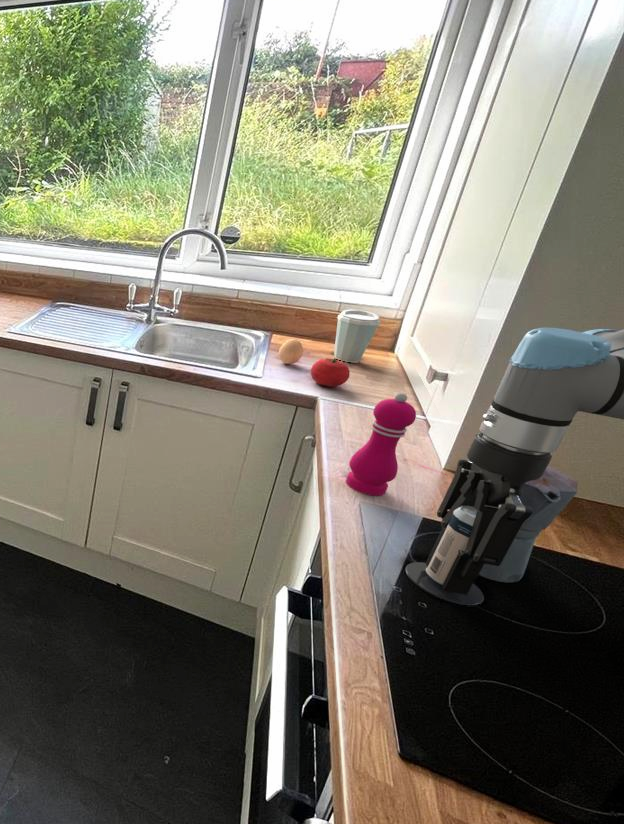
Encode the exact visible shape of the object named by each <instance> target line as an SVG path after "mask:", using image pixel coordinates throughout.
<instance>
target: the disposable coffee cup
mask: <svg viewBox="0 0 624 824" xmlns="http://www.w3.org/2000/svg"><path fill="white" fill-rule="evenodd" d="M336 319H337V325H336V331H335V332H336V333H335V340H334V341H335V342H334V350H333V358H334V357H335V358H336V359H338V360H341V362H343V361H345V362H344V363H347V362H351V363H350V364H358V363H359V362H360V360H362V357H363V356H364V354H365V352H366V350H367V348H368V346H369V345H370V342H371V340H372V338H373V337H374V334H375V333H376V331H377V329H378V327H379V326H380V324H381V321H382V320H381V319H380V316H379V315H378V314H376V313H373V312H371V311H366V310H361V309H360V310H359V309H344V310H342V311H341V312H340V314H338V315H337V317H336Z"/></svg>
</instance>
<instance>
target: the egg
mask: <svg viewBox="0 0 624 824" xmlns="http://www.w3.org/2000/svg"><path fill="white" fill-rule="evenodd" d="M303 354H304V347H303V344H302V342H301V341H300V340H298V339H296V338H290V339H288V340H285V342H283V344H281V346H280V348H279V349H278V358H279V360H280V361H281V362H282V363H283V364H285V365H295V364H297V363H298V362H299V361H300V360H301V359H302V357H303Z"/></svg>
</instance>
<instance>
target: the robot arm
mask: <svg viewBox="0 0 624 824" xmlns="http://www.w3.org/2000/svg"><path fill="white" fill-rule="evenodd" d="M578 412H582V413H586V414H590V415H591V414H592V415H598V416H603V417H609V418H614V419H620V420H624V328H623V329H621V330H617V329H609V328H598V329H595V328H594V329H590V330H585V331H583V332H582V331H575V330H573V329H566V328H559V327H558V328H556V327H539V328H538V327H537V328H534V329H531V330H529V331H528V332H526V334H525V335H524V336H523V338H522V339H521V341H520V342H519V344H518V346H517V347H516V349H515V351H514V353H513V355H512V356H511V357H510V358H509V363H508V366H507V368H506V370H505V373H504V375H503V376H502V378H501V381H500V384H499V385H498V388H497V391H496V393H495V394H494V397H493V398H492V401H491V403H490V406H489V407H488V410H487V412H486V413H485V414H483V415H482V417H481V418H482V421H481V424H480V427H479V433H477V434H475V436H474V438H473V440H472V442H471V444H470V446H469V448H468V450H467V452H466V458H467V459H462V458H460V459H458V461H457V465H456V469H455V473H454V475H453V478H452V480H451V482H450V483H449V486H448V488H447V491H446V492H445V494H444V497H443V499H442V501H441V503H440V505H439V507H438V509H437V512H436V516H437V517H438V518H441V521H440V526H441V530H440V531H439V534H438V535H437V538H436V540H435V542H434V545H433V547H432V549H431V551H430V553H429V555H428V557H427V559H426V561H425V563H426V565H427V566H428V565H429V563H430V561H431V559H432V557H433V555H434V553H435V551H436V549H437V547H438V545H439V543H440V540H441V538H442V536H443V534H444V532H445V530H446V528H447V526H448V524H449V522H450V520H451V518H452V516H453V512H454V510H456V509H458V508H459V507H461V506H473V507H474V508H475V509H476V510H477V513H476V517H475V520H474V523H473V527H472V530H471V533H470V537H469V540H468V543H467V546H466V550H465V551H461V550H458V555H457V557H456V559H455V561H454V563H453V565H452V567H451V569H450V571H449V573H448V575H447V577H446V579H445V581H444V583H443V585H442V588H443V589H444V590H447V591H451V592H455V593H460V594H464V595H467V594H468V592H469V590H470V588H471V586H472V584H475V583H474V582H475V581H476V580H477V578H478V577H479V575H478V574H479V572H480V571H481V569H482V567H483V565H484V564H490V565H494V566H500V564H501V563H502V561H503V559H504V557H505V555H506V553H507V551H508V550H509V548H510V546H511V544H512V542H513V540H514V539H515V537H516V535H517V533H518V531H519V529H520V528H521V526H522V524H523V522H524V521H526V520H527V519H528V518H529V517H530V516H531V515H532V513H533V509H532V508H531V507H528V506H523V505H522V503H521V501H520V499H519V498H520V497H521V496H522V492H523V486H524V484H525V483H526V482H528V481H532V480H537V479H539V478H541V477H542V475H543V473H544V471H545V469H546V468H547V466H549V464H550V462H551V460H552V458H553V456H552V454H551V453H554V452H556V451H557V450H558V449H559V446H560V444H561V443H562V440H563V439H564V436H565V434H566V433H567V431H568V429H569V427H570V425H571V424H572V422H573V421H574V418H575V416H576V414H577V413H578ZM485 505H487V506H485ZM488 506H492V507H488ZM494 507H498V508H494Z"/></svg>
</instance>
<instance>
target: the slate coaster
mask: <svg viewBox="0 0 624 824" xmlns="http://www.w3.org/2000/svg"><path fill="white" fill-rule="evenodd" d="M427 567H428V566H427V565H426V562H422V561H421V562H419V561H417V562H416V561H415V562H410V563H409V564H406V567H405V568H404V573H405V575H406V577H407V578H408V580H409V581H410V582H411V583H412V584H413V585H415V586H416V587H417V588H418V589H420V590H421V591H423V590H424V591H423V592H424V593H426V592H427V593H426V594H428V593H429V594H428V595H430V594H431V595H430V596H432V595H433V596H432V597H434V596H435V597H434V598H436V597H437V598H436V599H438V598H440V599H439V600H441V599H444V600H445V601H444V602H446V601H449V602H452V603H456V604H460V605H459V606H461V605H467V606H466V607H470V606H471V605H478V604H480V605H482V604H483V602H484V600H485V596H484V593H483V592H482V590H481V589H480V588H479V587H478V586H477V585H476V584H475V583H473V584H472V586H471V588H470V590H469V592H468V594H467V595H464V594H460V593H455V592H451V591H447V590H444V589H443V588H442V584H439V583H438V582H436V581H435V580H433V579H432V578H431V577H430V576H429V575H428V574H427V572H426V568H427ZM449 602H448V603H449ZM452 603H451V604H452ZM456 604H455V605H456ZM478 606H479V605H478ZM471 607H472V606H471Z"/></svg>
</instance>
